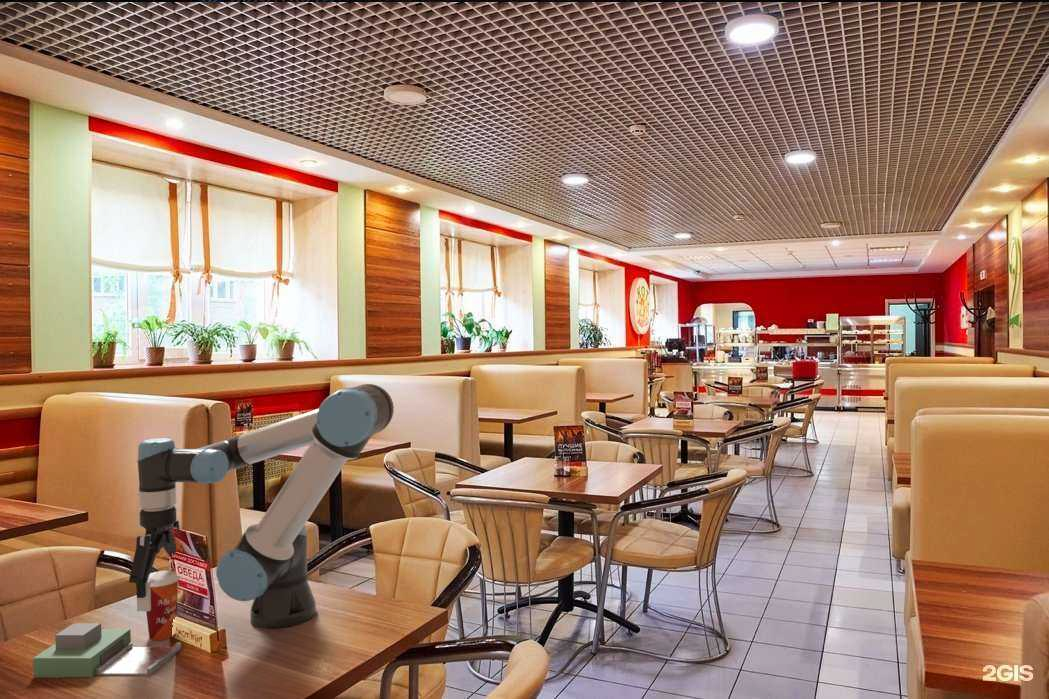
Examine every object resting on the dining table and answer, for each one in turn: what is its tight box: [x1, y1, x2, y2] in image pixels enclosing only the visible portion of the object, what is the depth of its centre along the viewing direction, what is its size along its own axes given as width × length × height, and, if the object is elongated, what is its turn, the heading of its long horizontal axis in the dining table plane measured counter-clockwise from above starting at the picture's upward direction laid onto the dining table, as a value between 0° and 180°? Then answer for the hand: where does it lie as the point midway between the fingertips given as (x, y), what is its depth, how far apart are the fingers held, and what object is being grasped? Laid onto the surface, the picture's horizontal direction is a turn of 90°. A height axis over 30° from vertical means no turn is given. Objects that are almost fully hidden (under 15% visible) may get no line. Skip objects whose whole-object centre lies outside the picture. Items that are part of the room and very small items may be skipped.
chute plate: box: [94, 642, 182, 676], centre depth 156 cm, size 12×12×1 cm
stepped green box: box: [32, 622, 132, 679], centre depth 156 cm, size 12×14×7 cm
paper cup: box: [145, 569, 179, 641], centre depth 169 cm, size 8×8×14 cm
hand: (160, 598), depth 169 cm, fingers open, 13 cm apart
